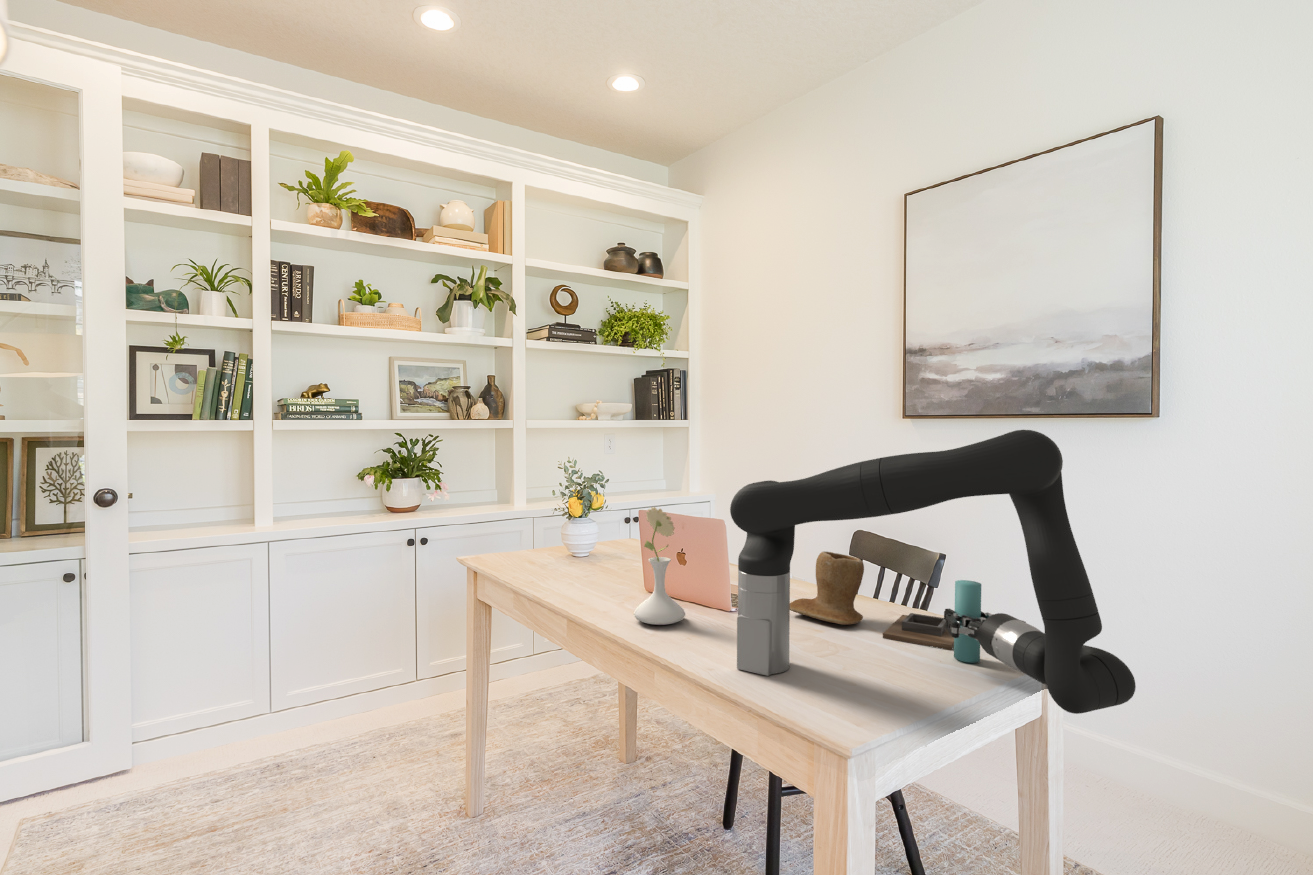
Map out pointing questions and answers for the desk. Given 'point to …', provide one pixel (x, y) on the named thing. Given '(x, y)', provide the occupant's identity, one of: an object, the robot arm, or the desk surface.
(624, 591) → the desk surface
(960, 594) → the teal pillar
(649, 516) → the flower in vase
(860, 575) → the brown hollow flared cylinder
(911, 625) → the walnut base board
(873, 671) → the desk surface
